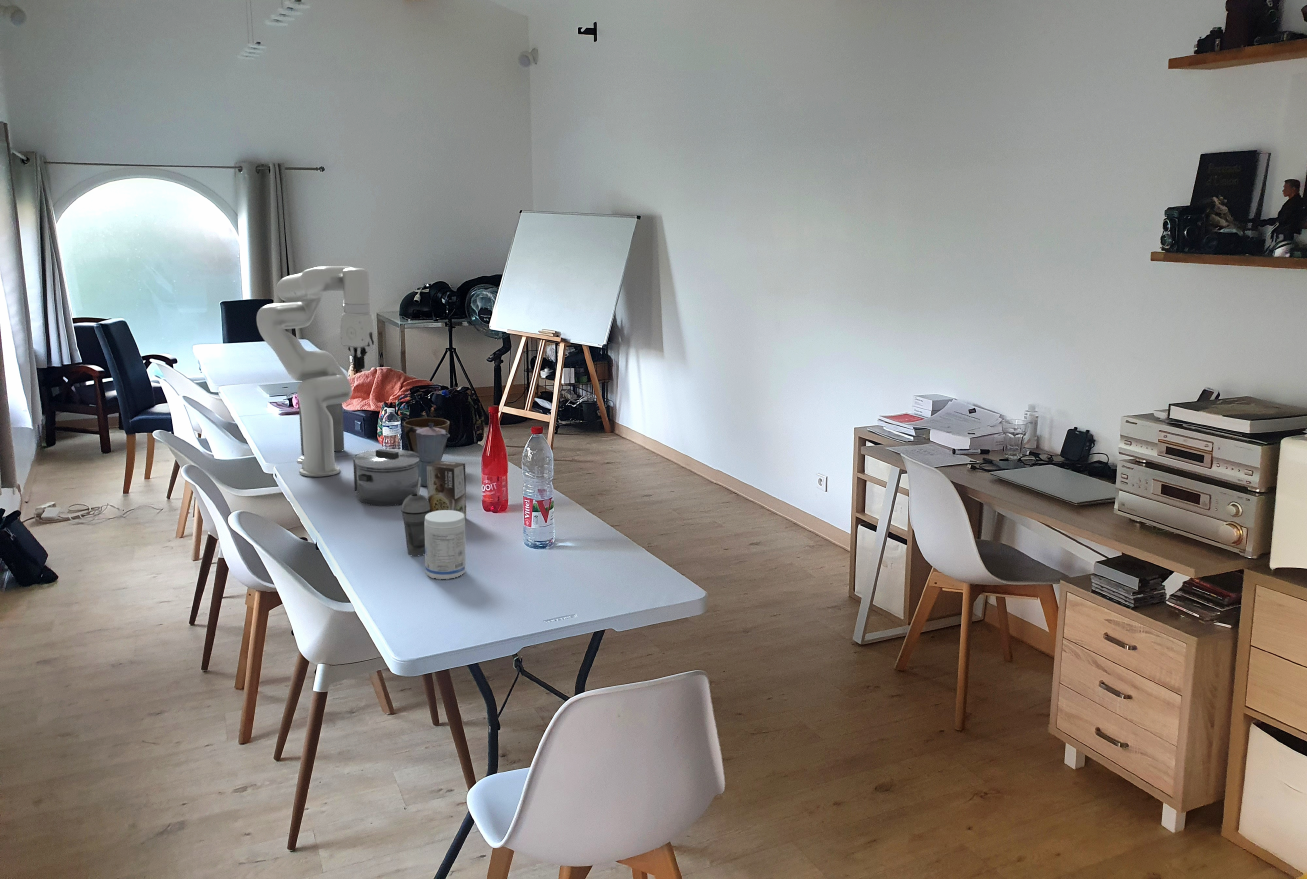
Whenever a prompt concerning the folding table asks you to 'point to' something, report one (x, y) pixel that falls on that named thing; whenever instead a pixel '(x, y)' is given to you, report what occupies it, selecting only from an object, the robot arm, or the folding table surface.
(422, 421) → the plant pot
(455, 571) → the supplement tub
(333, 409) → the grey upright box
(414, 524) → the beverage cup
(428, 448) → the moka pot
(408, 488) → the cooking pot
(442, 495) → the coffee box
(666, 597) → the folding table surface
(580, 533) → the folding table surface
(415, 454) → the lid
